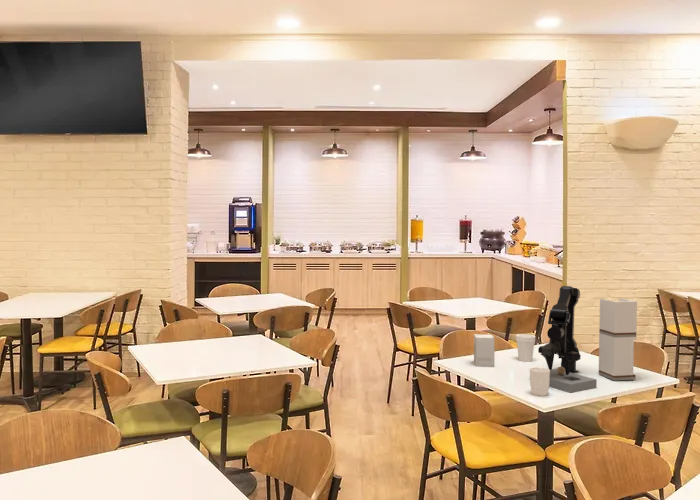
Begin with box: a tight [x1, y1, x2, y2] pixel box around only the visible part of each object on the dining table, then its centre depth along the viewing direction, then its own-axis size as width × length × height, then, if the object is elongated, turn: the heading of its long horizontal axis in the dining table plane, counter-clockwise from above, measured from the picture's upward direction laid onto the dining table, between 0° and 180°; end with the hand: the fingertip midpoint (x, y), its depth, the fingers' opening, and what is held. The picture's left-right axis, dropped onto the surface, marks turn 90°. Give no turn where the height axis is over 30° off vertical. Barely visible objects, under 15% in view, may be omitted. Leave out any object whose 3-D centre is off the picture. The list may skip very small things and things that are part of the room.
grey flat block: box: [549, 367, 598, 394], centre depth 248 cm, size 16×22×4 cm
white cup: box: [529, 366, 550, 397], centre depth 234 cm, size 8×8×10 cm
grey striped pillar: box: [598, 297, 638, 381], centre depth 260 cm, size 11×11×35 cm
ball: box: [556, 366, 565, 375], centre depth 250 cm, size 4×4×4 cm
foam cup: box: [515, 333, 536, 363], centre depth 291 cm, size 10×9×13 cm
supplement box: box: [473, 333, 495, 368], centre depth 281 cm, size 9×9×15 cm
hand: (558, 372), depth 250 cm, fingers open, 9 cm apart
